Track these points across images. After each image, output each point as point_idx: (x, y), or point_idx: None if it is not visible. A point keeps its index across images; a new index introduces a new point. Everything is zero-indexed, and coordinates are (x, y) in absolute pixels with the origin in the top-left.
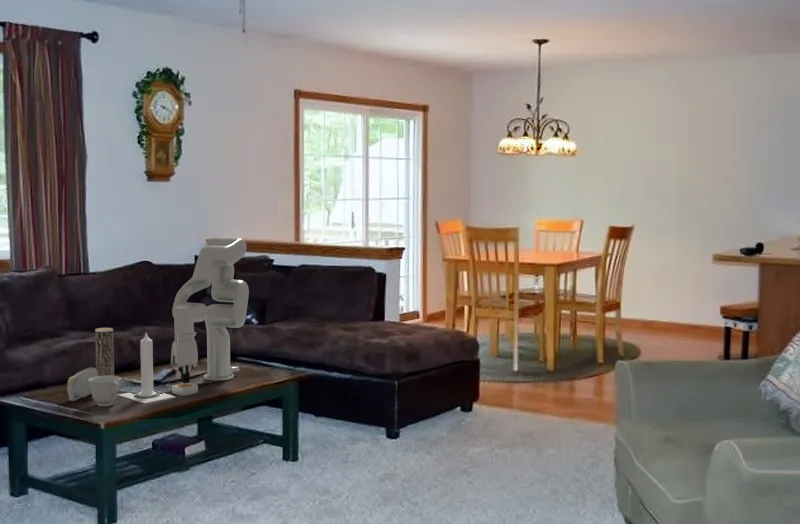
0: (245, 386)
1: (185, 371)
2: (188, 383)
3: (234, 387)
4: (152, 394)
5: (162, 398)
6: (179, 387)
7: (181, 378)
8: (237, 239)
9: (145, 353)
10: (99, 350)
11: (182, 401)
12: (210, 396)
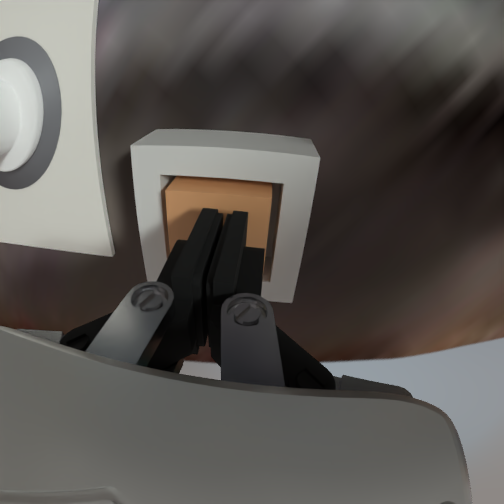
0: (501, 320)
1: (174, 367)
2: (257, 243)
3: (481, 306)
4: (7, 169)
5: (44, 235)
6: (144, 248)
7: (172, 255)
8: None
9: None
10: None
11: None
12: None
